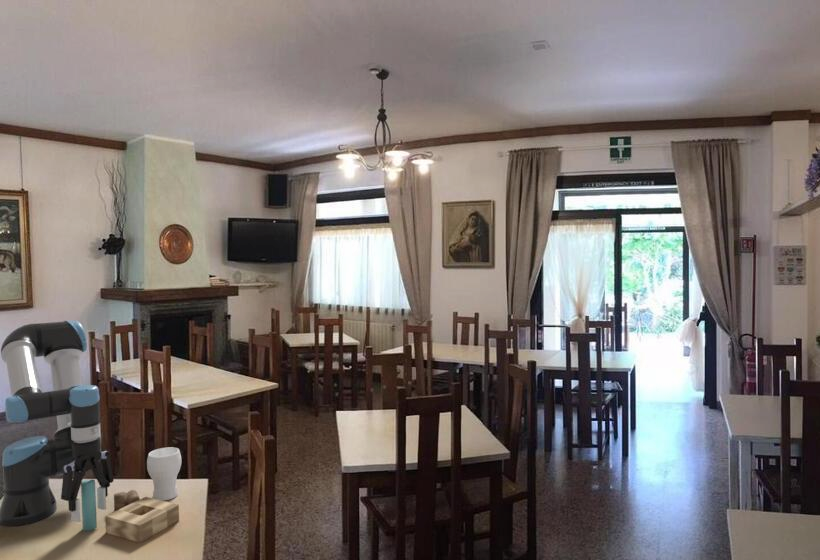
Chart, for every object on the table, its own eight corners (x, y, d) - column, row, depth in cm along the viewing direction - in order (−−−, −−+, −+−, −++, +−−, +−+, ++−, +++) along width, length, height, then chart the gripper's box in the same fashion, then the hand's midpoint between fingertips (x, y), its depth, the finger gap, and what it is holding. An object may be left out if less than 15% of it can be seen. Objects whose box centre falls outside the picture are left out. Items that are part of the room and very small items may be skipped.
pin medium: (139, 510, 179) (136, 501, 185) (142, 498, 179) (138, 490, 186) (127, 510, 177) (124, 501, 183) (130, 498, 177) (127, 489, 184)
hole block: (105, 532, 163) (105, 516, 163) (146, 512, 176) (145, 496, 176) (139, 542, 158) (139, 525, 157) (179, 520, 170) (178, 504, 170)
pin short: (111, 511, 177) (111, 495, 177) (121, 506, 180) (121, 491, 180) (119, 513, 176) (119, 497, 175) (129, 508, 179) (129, 493, 179)
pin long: (80, 529, 165) (78, 483, 165) (91, 524, 169) (89, 478, 168) (88, 532, 164) (86, 485, 163) (99, 526, 167) (97, 480, 166)
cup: (169, 504, 181) (168, 459, 181) (140, 501, 184) (139, 456, 183) (188, 490, 192) (187, 447, 191) (161, 488, 194) (160, 445, 193)
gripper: (60, 452, 154) (63, 532, 155) (125, 430, 173) (128, 502, 174) (43, 448, 157) (46, 527, 158) (108, 427, 176) (111, 498, 177)
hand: (89, 514), depth 166 cm, fingers open, 8 cm apart
